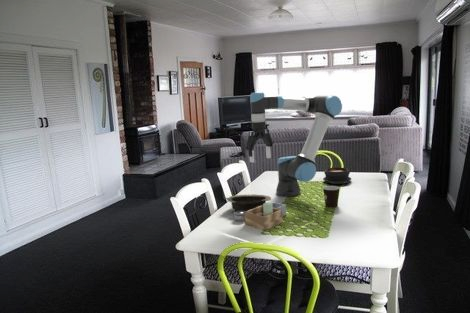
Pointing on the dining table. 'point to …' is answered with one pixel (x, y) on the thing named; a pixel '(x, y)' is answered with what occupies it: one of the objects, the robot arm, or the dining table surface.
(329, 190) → the coffee mug
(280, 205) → the grey tub
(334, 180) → the casserole
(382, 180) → the dining table surface
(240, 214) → the pewter tin
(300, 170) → the robot arm
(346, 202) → the dining table surface
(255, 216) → the oak crate
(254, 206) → the stone bowl
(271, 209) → the pale green block
